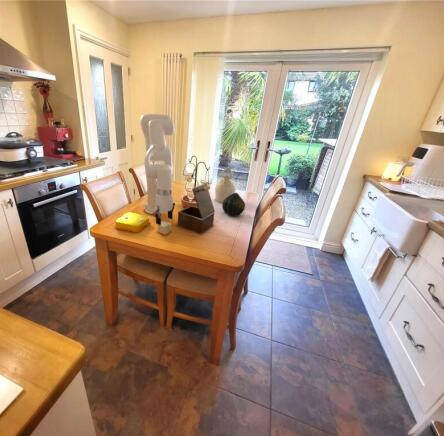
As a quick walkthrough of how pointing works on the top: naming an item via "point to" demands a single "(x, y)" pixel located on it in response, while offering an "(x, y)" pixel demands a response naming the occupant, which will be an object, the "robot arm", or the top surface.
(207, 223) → the chest
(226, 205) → the squash
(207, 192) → the lid
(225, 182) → the cream vase
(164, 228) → the block
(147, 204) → the robot arm
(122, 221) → the element tile
